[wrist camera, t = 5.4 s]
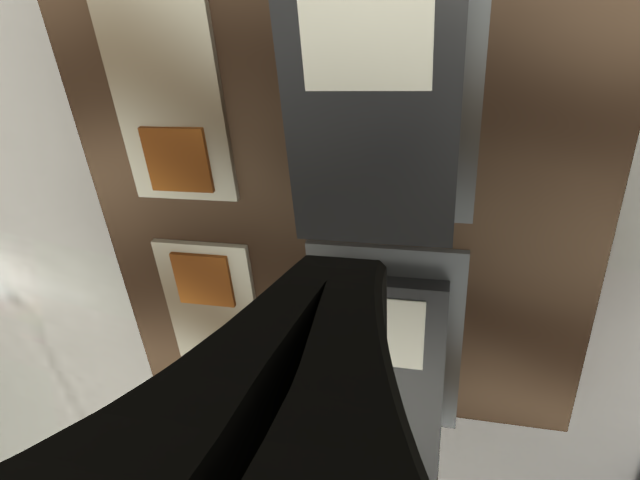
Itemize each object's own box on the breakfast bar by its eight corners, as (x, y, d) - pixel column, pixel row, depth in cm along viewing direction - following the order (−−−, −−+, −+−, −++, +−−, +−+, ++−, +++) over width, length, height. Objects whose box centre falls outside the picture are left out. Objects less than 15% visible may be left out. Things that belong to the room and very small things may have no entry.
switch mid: (454, 219, 13) (452, 250, 12) (309, 212, 14) (296, 240, 13) (471, -49, 10) (470, -39, 9) (284, -38, 11) (263, -28, 10)
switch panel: (559, 401, 18) (568, 457, 16) (173, 354, 21) (146, 397, 20) (819, -781, 7) (938, -1014, 5) (-63, -507, 10) (-177, -593, 9)
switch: (438, 469, 16) (436, 496, 15) (320, 450, 17) (308, 475, 15) (450, 280, 15) (449, 292, 14) (323, 270, 16) (312, 281, 14)
